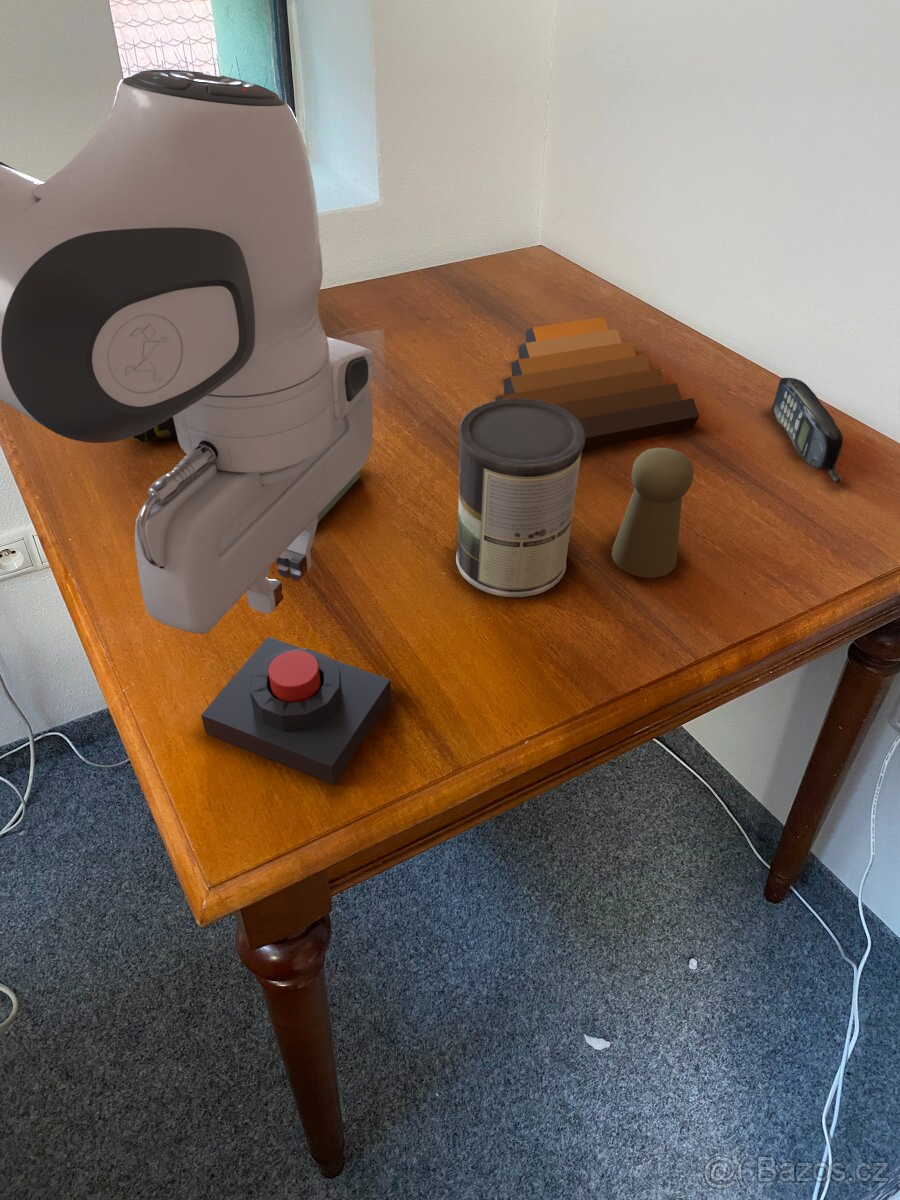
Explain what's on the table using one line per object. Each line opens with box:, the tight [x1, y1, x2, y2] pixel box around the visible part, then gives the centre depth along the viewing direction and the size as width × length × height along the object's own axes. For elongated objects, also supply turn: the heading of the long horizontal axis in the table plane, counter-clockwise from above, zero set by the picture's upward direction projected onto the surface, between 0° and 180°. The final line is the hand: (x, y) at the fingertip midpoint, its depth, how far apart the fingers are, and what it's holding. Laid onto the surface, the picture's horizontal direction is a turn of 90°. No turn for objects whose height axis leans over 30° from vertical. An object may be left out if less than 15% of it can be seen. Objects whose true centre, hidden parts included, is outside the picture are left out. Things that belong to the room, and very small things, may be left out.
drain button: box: [268, 651, 320, 702], centre depth 64 cm, size 4×4×2 cm
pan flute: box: [494, 316, 700, 452], centre depth 102 cm, size 25×3×25 cm
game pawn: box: [610, 447, 694, 579], centre depth 78 cm, size 6×6×11 cm
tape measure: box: [132, 417, 177, 444], centre depth 95 cm, size 7×7×4 cm
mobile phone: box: [771, 377, 844, 484], centre depth 95 cm, size 5×3×15 cm
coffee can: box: [455, 398, 585, 598], centre depth 76 cm, size 10×10×14 cm
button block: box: [200, 636, 392, 786], centre depth 66 cm, size 11×9×4 cm
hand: (281, 588), depth 58 cm, fingers closed
